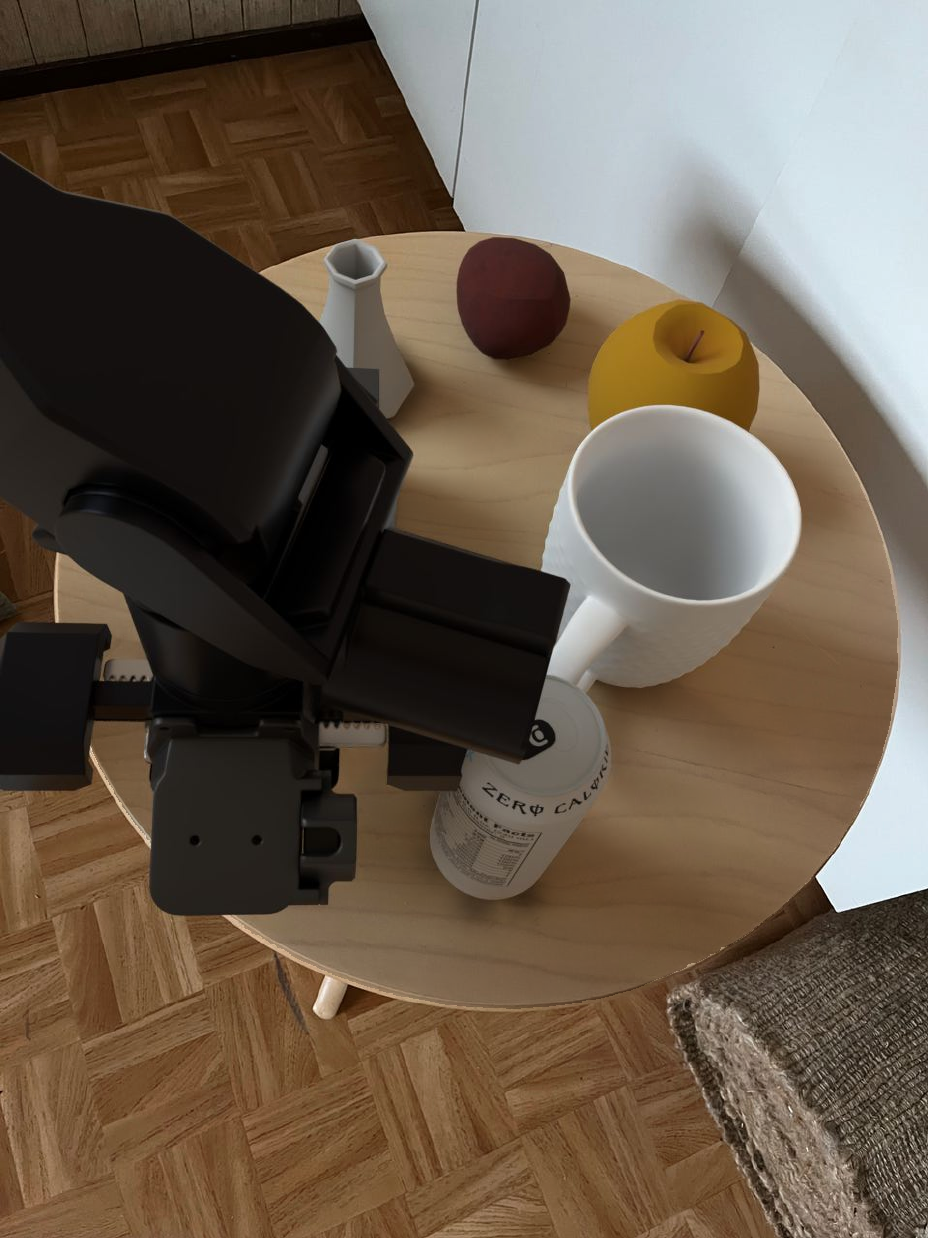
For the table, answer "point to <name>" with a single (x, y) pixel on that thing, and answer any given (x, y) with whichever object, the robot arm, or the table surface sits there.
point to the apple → (676, 365)
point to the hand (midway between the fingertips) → (259, 777)
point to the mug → (665, 544)
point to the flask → (364, 320)
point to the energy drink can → (523, 799)
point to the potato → (511, 297)
